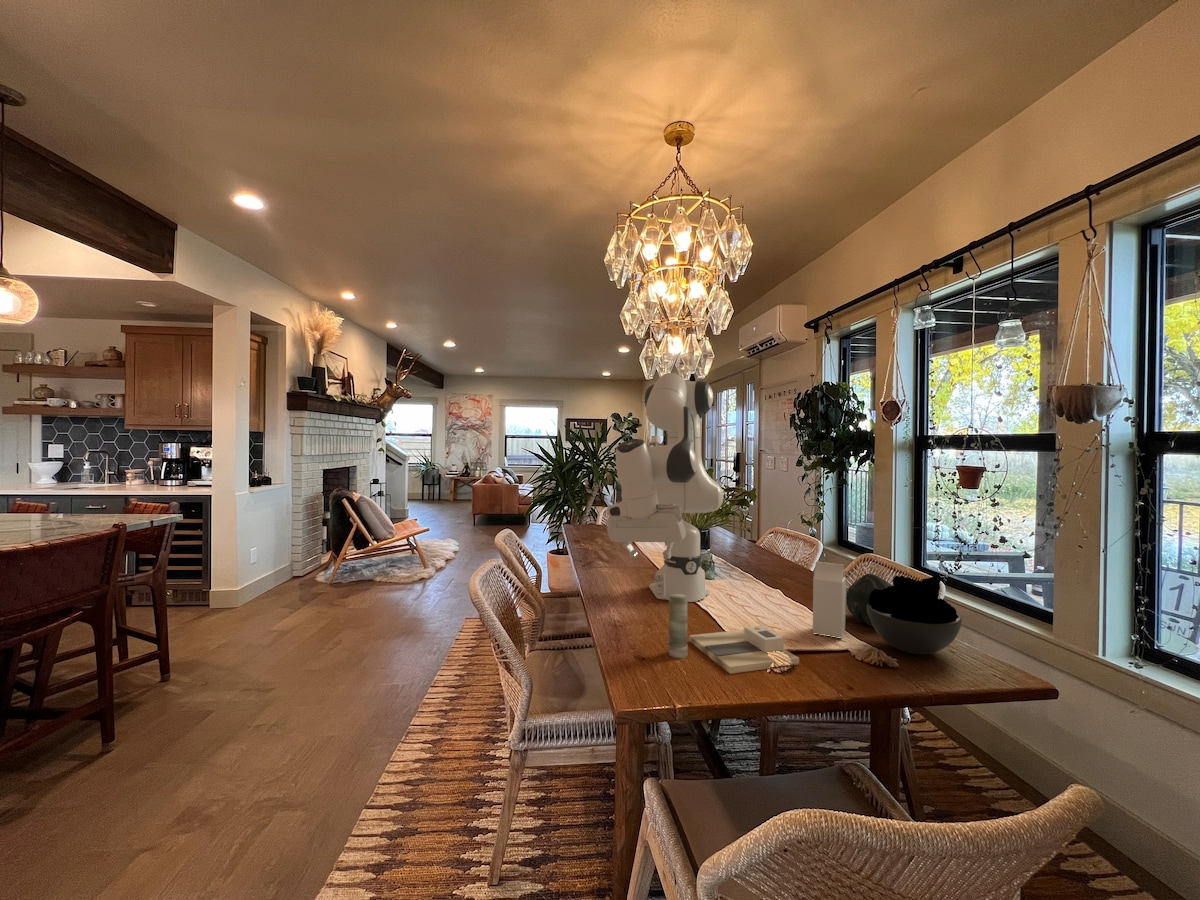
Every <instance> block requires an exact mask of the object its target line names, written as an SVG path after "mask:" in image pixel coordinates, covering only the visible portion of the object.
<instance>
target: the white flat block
mask: <svg viewBox="0 0 1200 900" xmlns="http://www.w3.org/2000/svg"><path fill="white" fill-rule="evenodd" d="M688 636H689V642H690V644H691V645H693V646H694V647H696V648H697V649H699V651H701V652H702V653H703V654H705V655H706V656H707V657H708V658H710V659H711V660H712V661H713V662H714V663H716V664H717V665H718V666H719V667H721V668H722V669H723V670H724V671H725V672H727V673H728V674H731V675H733V674H739V673H747V672H753V671H759V670H760V671H761V670H768V668H769V667H770V665H771V664H772V663H773V662H775V661H774V660H772V659H771V658H770V657H769V656H768V653H767V652H764V651H762V650H760V649H759V648H757V647H756V646H754V645H753V644H751V643H750V642H748V641H747V640H745V639H744V629H736V630H728V631H718V632H717V631H716V632H708V633H700V634H699V633H698V634H690V635H688ZM775 652H776V651H775ZM780 652H784V653H786V654H788V656H789V658H790V659H791V661H792V662H793V664H794V665H793V666H798V665H800V657H798V656H797V655H795V654H793V653H792V652H790V651H789V650H787V649H785V648H783V650H781V651H780ZM769 669H770V668H769Z"/></svg>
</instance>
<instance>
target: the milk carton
mask: <svg viewBox="0 0 1200 900" xmlns="http://www.w3.org/2000/svg"><path fill="white" fill-rule="evenodd" d="M845 571H846V570H845V564H842V563H832V562H824V561H823V562H822V561H815V567H814V571H813V579H812V580H813V581H812V588H813V589H812V634H813V633H818V634H825V635H830V636H835V637H841V638H842V639H843V637H842V636H844V635H845V632H846V592H847V590H846V589H847V588H846V586H847V585H846V584H847V581H846V579H847V578H846V572H845ZM843 634H844V635H843Z"/></svg>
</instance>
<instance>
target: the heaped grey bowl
mask: <svg viewBox="0 0 1200 900" xmlns="http://www.w3.org/2000/svg"><path fill="white" fill-rule="evenodd" d="M891 581H892V586H888V587H887V588H886V589H882V590H878V589H876V588H875V589H874V590H873V591H872V592H871V594H870V595H869V603H868V604H867V612H868V616H869V619H870V622H871V624H872V625H871V626H872V627H873V629H874V630H875V632H876V634H878V635H879V636H880V638H881V639H883V641H885V642H886V643H887V644H889V645H890V646H892V648H896V649H897V650H899V651H902V652H905V653H908V654H912V655H928V654H934V653H937V652H939V651H942V650H944V649H945V648H947V647H948V646H949V645H951V644H952V643H953V642H954V641H955V639H956V638H957V636H958V634H959V632H960V631H961V627H962V626H961V625H962V622H963V621H962V619H963V618H962V617H961V616H960V614H958V613H957V609H956V608H955V607H953V606H952V605H951V603H948V602H947V601H946V600H945V599H943V598H939V595H940V589H941V585H940V583H941V582H942V576H941V575H939V574H938V575H933V576H931V577H927V578H922V580H918V579H917V580H916V579H914V578H911V577H909V576H904V575H894V577H893V578H892V580H891Z"/></svg>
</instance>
